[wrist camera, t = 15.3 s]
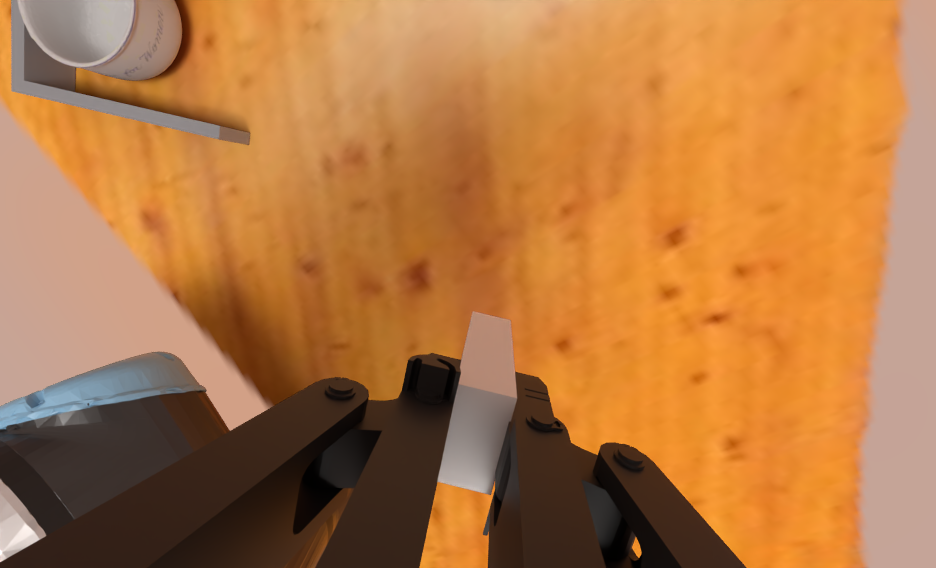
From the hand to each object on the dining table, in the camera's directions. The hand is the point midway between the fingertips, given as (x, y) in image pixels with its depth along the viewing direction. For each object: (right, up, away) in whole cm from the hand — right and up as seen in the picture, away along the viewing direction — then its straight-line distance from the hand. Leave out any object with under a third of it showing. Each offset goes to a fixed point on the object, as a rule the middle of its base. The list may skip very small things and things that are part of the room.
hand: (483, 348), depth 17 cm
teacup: (-31, +28, +27) cm, 50 cm away
